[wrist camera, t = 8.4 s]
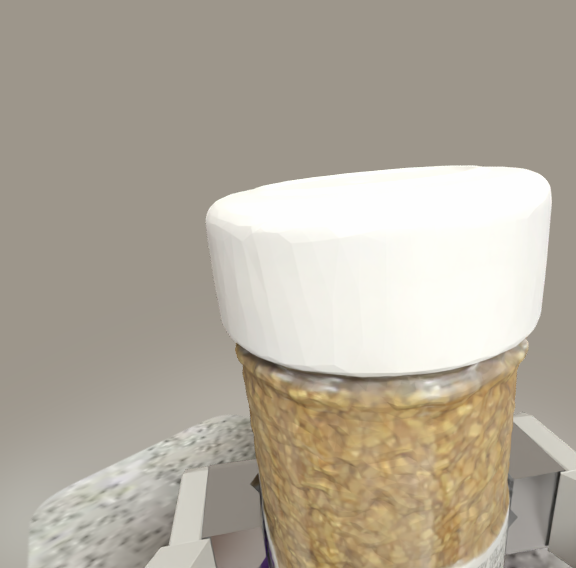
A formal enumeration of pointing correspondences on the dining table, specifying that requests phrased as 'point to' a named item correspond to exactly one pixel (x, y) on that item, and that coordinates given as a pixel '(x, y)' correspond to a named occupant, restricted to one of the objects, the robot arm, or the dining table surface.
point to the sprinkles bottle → (383, 356)
